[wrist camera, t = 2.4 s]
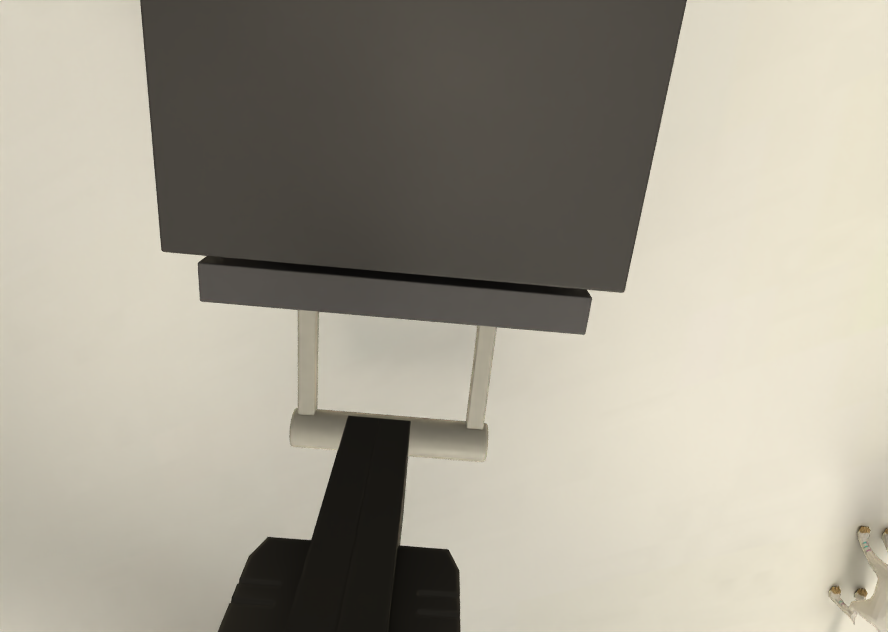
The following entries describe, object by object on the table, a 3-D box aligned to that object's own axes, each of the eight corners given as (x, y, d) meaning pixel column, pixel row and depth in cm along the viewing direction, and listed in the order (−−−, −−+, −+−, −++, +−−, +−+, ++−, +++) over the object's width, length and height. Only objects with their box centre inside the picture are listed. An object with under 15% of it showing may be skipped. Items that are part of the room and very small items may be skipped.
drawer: (522, 380, 29) (552, 504, 20) (279, 359, 28) (210, 476, 20) (606, -153, 21) (708, -299, 13) (273, -189, 21) (157, -363, 12)
